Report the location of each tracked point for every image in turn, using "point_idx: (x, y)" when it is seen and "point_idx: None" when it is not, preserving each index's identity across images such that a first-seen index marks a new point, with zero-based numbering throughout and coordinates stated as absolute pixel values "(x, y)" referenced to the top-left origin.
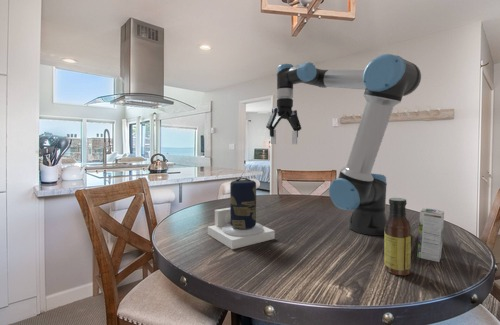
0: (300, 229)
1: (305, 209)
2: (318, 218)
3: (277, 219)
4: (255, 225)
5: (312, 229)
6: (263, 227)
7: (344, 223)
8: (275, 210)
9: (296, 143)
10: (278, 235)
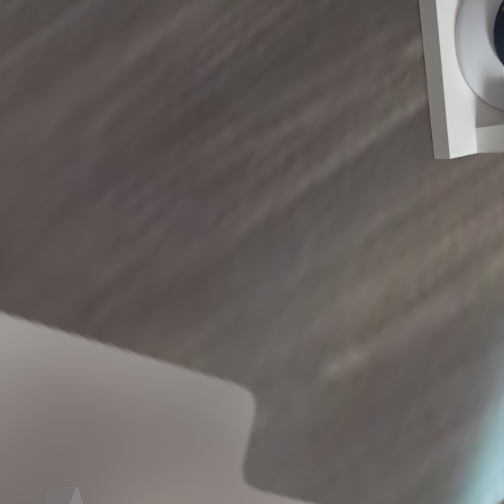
0: (266, 33)
1: (55, 315)
2: (90, 146)
3: (277, 202)
4: (484, 26)
5: (219, 10)
6: (448, 22)
7: (19, 21)
8: (209, 343)
9: (61, 497)
10: (384, 5)
